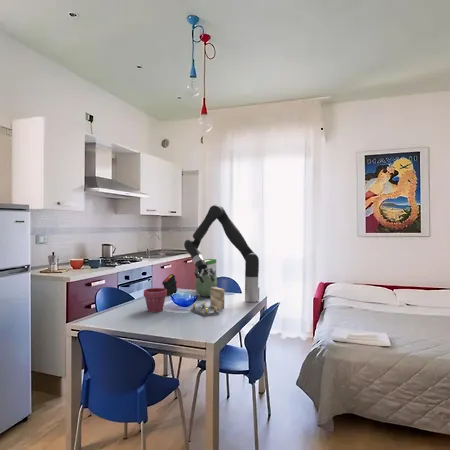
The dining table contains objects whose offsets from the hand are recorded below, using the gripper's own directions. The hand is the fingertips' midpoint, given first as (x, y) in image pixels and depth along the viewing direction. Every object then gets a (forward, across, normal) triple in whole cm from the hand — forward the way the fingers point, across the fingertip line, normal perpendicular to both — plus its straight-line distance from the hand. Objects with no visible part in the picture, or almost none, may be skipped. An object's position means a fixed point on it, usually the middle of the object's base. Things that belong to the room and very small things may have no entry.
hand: (208, 281), depth 243 cm
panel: (+18, 0, +3) cm, 18 cm away
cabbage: (-4, +12, +25) cm, 28 cm away
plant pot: (+8, -37, +13) cm, 40 cm away
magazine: (-17, -8, +39) cm, 43 cm away
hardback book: (-19, +26, +40) cm, 52 cm away
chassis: (+23, -14, -2) cm, 28 cm away
